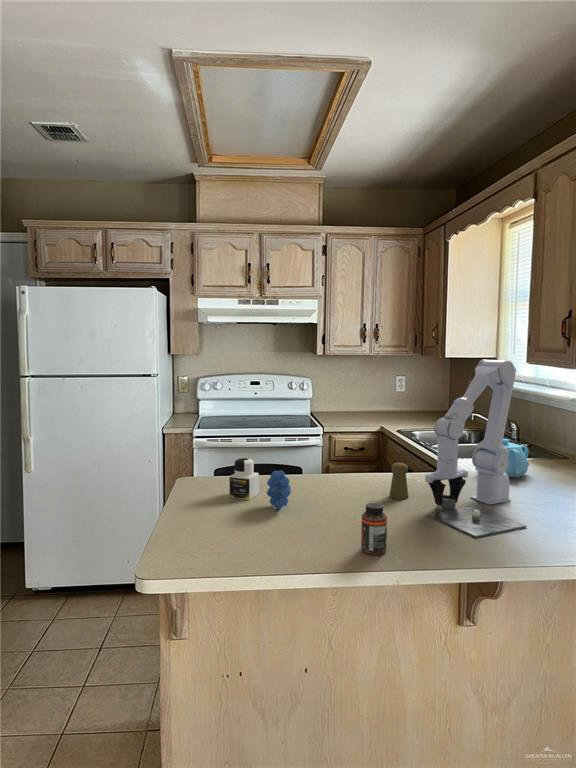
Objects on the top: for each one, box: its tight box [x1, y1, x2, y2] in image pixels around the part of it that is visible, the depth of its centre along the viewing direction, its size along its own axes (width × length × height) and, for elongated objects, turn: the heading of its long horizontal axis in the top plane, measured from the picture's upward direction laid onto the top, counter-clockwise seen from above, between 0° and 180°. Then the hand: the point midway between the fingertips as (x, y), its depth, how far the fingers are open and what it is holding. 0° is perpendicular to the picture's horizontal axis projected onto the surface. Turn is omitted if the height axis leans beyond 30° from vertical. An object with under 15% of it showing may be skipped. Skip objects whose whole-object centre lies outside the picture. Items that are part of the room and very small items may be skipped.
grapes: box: [266, 470, 292, 510], centre depth 152 cm, size 12×7×12 cm, turn 31°
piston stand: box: [428, 505, 527, 539], centre depth 141 cm, size 18×18×3 cm
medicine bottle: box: [229, 457, 260, 501], centre depth 164 cm, size 7×7×12 cm
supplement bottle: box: [360, 502, 388, 556], centre depth 121 cm, size 6×6×11 cm
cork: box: [388, 462, 410, 501], centre depth 163 cm, size 6×6×11 cm
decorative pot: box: [488, 438, 530, 479], centre depth 190 cm, size 16×16×14 cm
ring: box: [436, 493, 456, 512], centre depth 152 cm, size 5×5×4 cm
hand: (446, 503), depth 152 cm, fingers closed on ring, 5 cm apart
